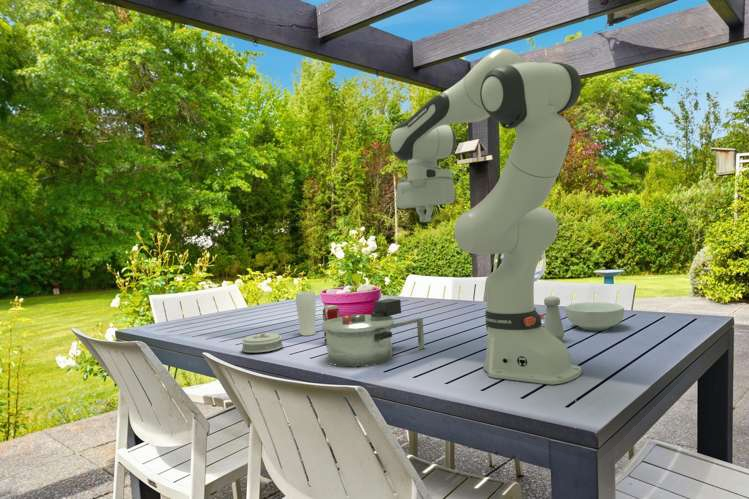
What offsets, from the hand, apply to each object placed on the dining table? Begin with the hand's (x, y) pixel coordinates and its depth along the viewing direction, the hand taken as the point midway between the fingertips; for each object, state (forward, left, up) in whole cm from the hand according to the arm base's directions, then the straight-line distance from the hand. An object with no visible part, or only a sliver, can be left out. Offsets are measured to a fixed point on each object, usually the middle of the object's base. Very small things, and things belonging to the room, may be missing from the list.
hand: (425, 221), depth 152 cm
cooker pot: (+8, +17, -37) cm, 42 cm away
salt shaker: (-27, -22, -37) cm, 51 cm away
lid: (+43, +32, -37) cm, 65 cm away
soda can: (+30, +14, -37) cm, 50 cm away
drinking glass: (+49, +10, -37) cm, 62 cm away
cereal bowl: (-29, -45, -37) cm, 65 cm away
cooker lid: (+8, +19, -28) cm, 35 cm away
